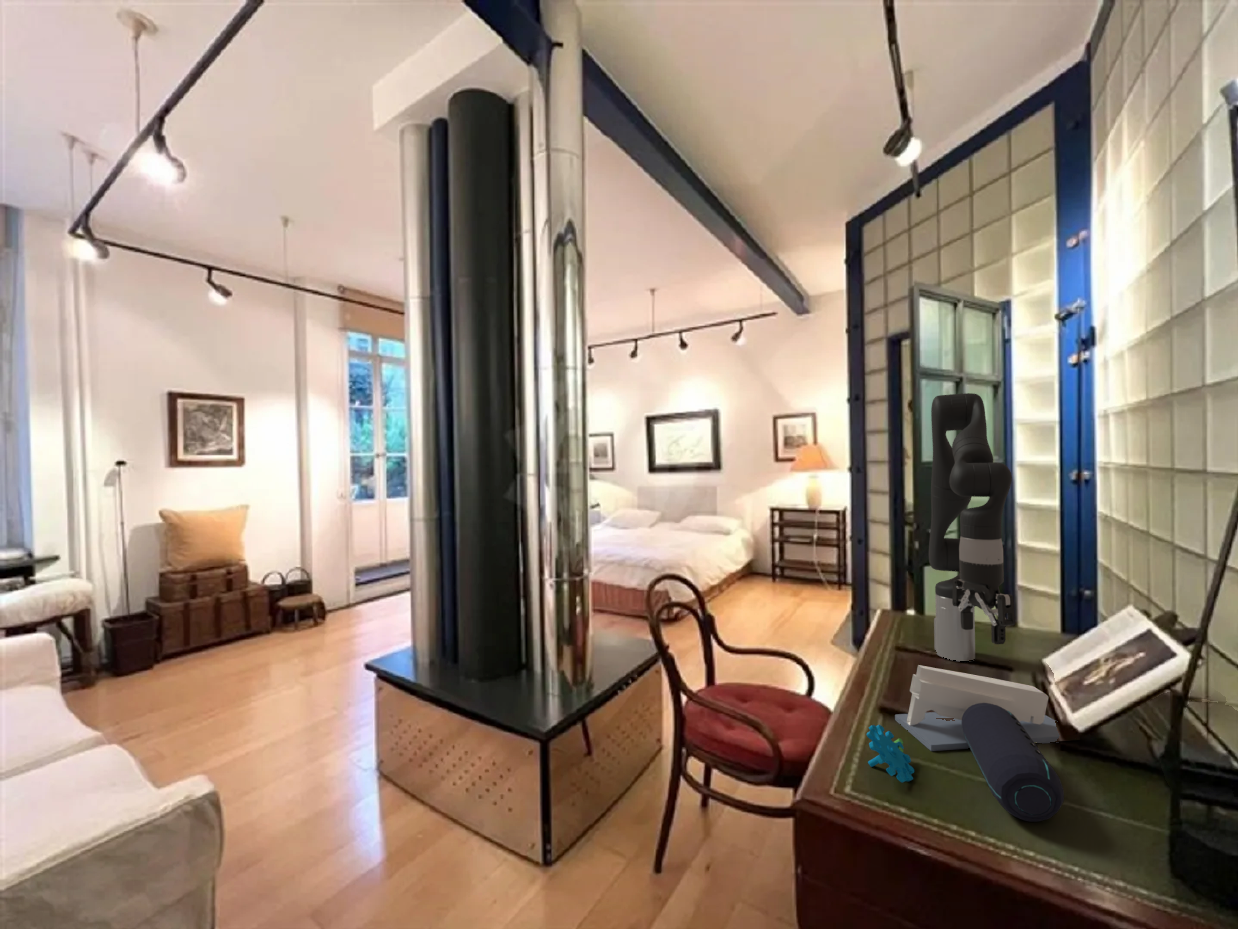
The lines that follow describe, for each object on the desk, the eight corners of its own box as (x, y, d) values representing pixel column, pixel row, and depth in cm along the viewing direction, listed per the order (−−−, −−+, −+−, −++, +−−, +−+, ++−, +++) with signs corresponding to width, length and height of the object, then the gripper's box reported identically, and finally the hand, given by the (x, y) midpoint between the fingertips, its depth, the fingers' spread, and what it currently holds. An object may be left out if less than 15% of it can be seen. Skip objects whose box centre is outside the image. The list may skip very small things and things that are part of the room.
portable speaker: (1074, 840, 79) (1074, 775, 79) (995, 825, 83) (994, 763, 82) (1017, 750, 102) (1016, 699, 102) (957, 741, 106) (956, 692, 106)
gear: (904, 787, 90) (864, 729, 96) (878, 801, 93) (840, 744, 98) (926, 768, 97) (887, 716, 103) (901, 782, 100) (865, 730, 106)
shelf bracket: (902, 717, 113) (913, 661, 113) (1021, 742, 112) (1033, 684, 111) (914, 731, 108) (926, 671, 107) (1040, 757, 106) (1053, 697, 106)
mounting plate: (895, 720, 115) (895, 714, 115) (1029, 711, 117) (1029, 706, 117) (931, 751, 103) (931, 745, 103) (1080, 740, 105) (1080, 735, 105)
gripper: (1026, 565, 102) (1027, 648, 102) (972, 551, 116) (974, 624, 117) (990, 567, 101) (991, 650, 102) (940, 553, 116) (941, 625, 116)
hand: (982, 636), depth 109 cm, fingers open, 8 cm apart
